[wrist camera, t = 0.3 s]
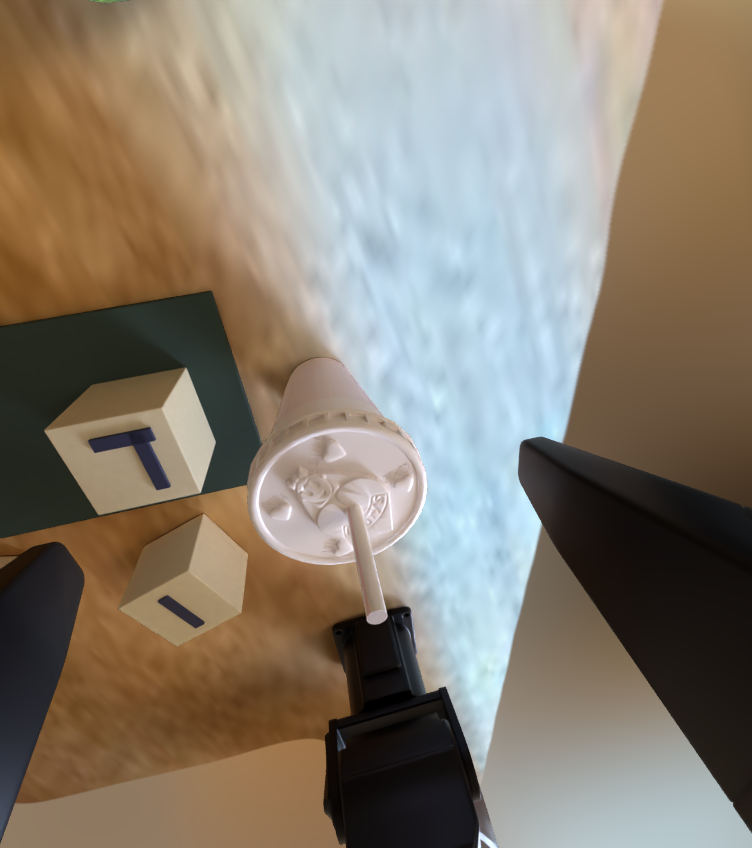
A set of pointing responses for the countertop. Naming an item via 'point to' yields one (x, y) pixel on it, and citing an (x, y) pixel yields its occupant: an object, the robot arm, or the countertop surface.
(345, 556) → the smoothie
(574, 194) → the countertop surface
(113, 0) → the avocado
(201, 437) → the tile
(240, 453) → the word mat
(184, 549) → the tile
